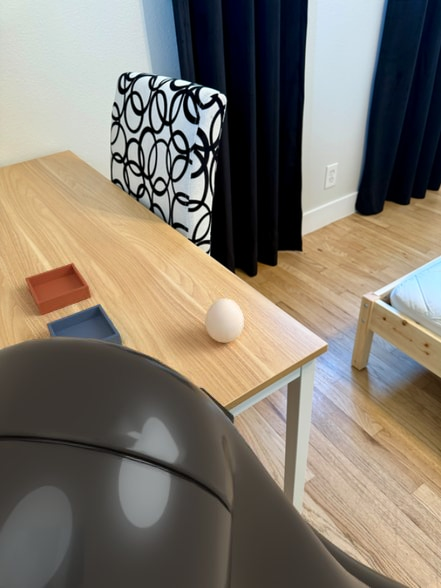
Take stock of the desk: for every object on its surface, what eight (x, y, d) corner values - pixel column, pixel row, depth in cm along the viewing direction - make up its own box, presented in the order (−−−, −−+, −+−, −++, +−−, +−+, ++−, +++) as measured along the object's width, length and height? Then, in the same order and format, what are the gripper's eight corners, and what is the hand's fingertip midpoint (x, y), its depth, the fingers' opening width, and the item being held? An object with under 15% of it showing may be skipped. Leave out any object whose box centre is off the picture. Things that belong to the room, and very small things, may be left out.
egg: (200, 331, 70) (198, 294, 66) (234, 321, 72) (234, 285, 67) (214, 356, 66) (212, 319, 61) (250, 344, 68) (250, 308, 63)
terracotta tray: (41, 315, 75) (36, 303, 73) (29, 289, 81) (24, 278, 79) (91, 297, 78) (88, 285, 77) (76, 273, 84) (73, 262, 83)
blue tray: (66, 369, 64) (62, 357, 63) (50, 335, 70) (46, 323, 69) (122, 346, 68) (119, 334, 66) (102, 315, 74) (99, 303, 73)
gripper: (282, 434, 41) (172, 350, 50) (167, 551, 33) (62, 426, 42) (278, 475, 46) (178, 392, 55) (176, 586, 38) (79, 467, 47)
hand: (127, 407), depth 49 cm, fingers open, 8 cm apart
